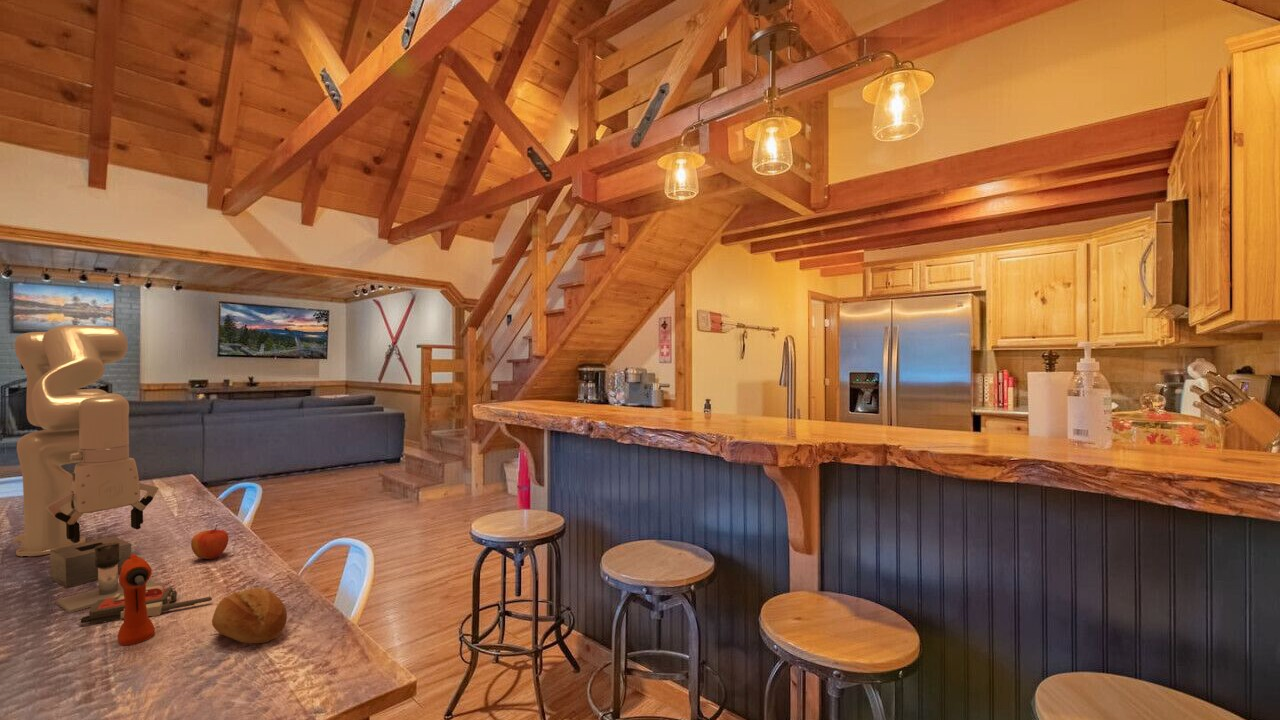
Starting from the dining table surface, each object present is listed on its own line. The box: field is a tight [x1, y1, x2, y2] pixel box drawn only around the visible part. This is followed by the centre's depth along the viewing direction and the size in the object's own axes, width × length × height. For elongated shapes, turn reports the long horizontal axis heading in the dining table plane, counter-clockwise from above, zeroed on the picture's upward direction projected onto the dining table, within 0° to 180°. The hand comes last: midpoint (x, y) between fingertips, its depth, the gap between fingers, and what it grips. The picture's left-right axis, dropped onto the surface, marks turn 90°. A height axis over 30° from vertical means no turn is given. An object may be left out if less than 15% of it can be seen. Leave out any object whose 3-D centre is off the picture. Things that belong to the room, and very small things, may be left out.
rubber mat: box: [54, 578, 160, 614], centre depth 117 cm, size 9×14×1 cm, turn 149°
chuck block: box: [49, 535, 132, 589], centre depth 128 cm, size 11×11×6 cm
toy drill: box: [117, 553, 156, 646], centre depth 96 cm, size 5×19×15 cm, turn 46°
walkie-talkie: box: [80, 584, 213, 625], centre depth 110 cm, size 9×4×20 cm
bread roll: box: [211, 587, 288, 644], centre depth 99 cm, size 10×15×8 cm, turn 63°
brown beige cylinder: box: [95, 542, 120, 595], centre depth 117 cm, size 4×4×10 cm
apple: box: [190, 524, 229, 560], centre depth 137 cm, size 7×7×8 cm
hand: (106, 534), depth 117 cm, fingers open, 9 cm apart
